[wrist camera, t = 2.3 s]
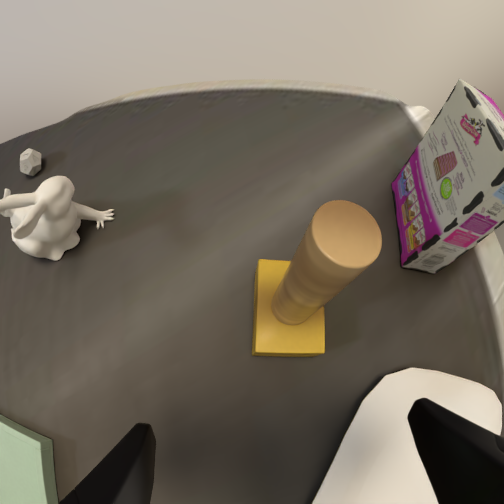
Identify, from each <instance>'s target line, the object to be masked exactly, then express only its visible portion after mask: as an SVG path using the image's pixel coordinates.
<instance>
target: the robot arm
mask: <svg viewBox="0 0 504 504" xmlns="http://www.w3.org/2000/svg"><path fill="white" fill-rule="evenodd" d="M407 419H408V423H409V426H410V429H411V432H412V435H413V439H414V442H415V445H416V448H417V451H418V454H419V456H420V459H421V461H422V463H423V466H424V468H425V471H426V473H427V476H428V478H429V481H430V483H431V486H432V488H433V491H434V493H435V496H436V498H437V501H438V504H504V438H503V437H501V436H499V435H497V434H494V433H493V432H491V431H489V430H487V429H485V428H483V427H481V426H479V425H477V424H475V423H473V422H471V421H469V420H467V419H465V418H463V417H461V416H460V415H458V414H456V413H454V412H452V411H450V410H448V409H446V408H444V407H442V406H441V405H439V404H437V403H435V402H433V401H431V400H429V399H428V398H420V399H417V400H415V402H414V403H413V405H412V407H411V409H410V411H409V413H408V417H407ZM155 450H156V439H155V436H154V433H153V430H152V427H151V425H150V424H146V423H137V424H136V425H135V426H134V427H133V428H132V429H131V430H130V431H129V432H128V433H127V434H126V435H125V436H124V438H123V439H122V440H121V441H120V442H119V443H118V444H117V445H116V446H115V447H114V448H113V449H112V450H111V451H110V452H109V453H108V454H107V455H106V457H105V458H104V459H103V460H102V461H101V462H100V463H99V464H98V465H97V466H96V467H95V468H94V469H93V470H92V471H91V472H90V473H89V474H88V475H87V476H86V477H85V478H84V479H83V480H82V481H81V482H80V483H79V484H78V485H77V486H76V487H75V490H74V489H73V490H72V491H71V492H70V493H69V494H68V495H67V496H66V497H65V498H64V499H63V500H62V501H61V502H59V503H58V504H150V500H151V494H152V489H153V483H154V466H155Z"/></svg>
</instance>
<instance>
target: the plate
mask: <svg viewBox="0 0 504 504" xmlns="http://www.w3.org/2000/svg"><path fill="white" fill-rule="evenodd" d="M420 398H428V399H429V400H431V401H433V402H435V403H437V404H439V405H441V406H442V407H444V408H446V409H448V410H450V411H452V412H454V413H456V414H458V415H460V416H461V417H463V418H465V419H467V420H469V421H471V422H473V423H475V424H477V425H479V426H481V427H483V428H485V429H487V430H489V431H491V432H493V433H494V434H497V435H499V436H500V433H501V428H502V405H501V403H500V401H499V399H498V398H497V396H496V394H495V393H494V391H493V390H491V389H489V388H487V387H485V386H483V385H481V384H480V383H477V382H474V381H470V380H467V379H464V378H461V377H457V376H454V375H450V374H447V373H443V372H440V371H434V370H427V369H419V368H408V369H405V370H402V371H399V372H395V373H392V374H389V375H385V376H384V377H383V378H382V379H381V380H380V381H379V383H378V384H377V385H376V386H375V387H374V388H373V389H372V390H371V391H370V392H369V393H368V395H367V396H366V397H365V398H364V399H363V400H362V402H361V404H360V406H359V408H358V410H357V412H356V414H355V416H354V418H353V420H352V421H351V423H350V425H349V427H348V429H347V431H346V433H345V435H344V437H343V439H342V441H341V443H340V446H339V448H338V450H337V452H336V454H335V457H334V459H333V461H332V463H331V465H330V467H329V469H328V471H327V473H326V475H325V477H324V479H323V482H322V484H321V486H320V488H319V490H318V492H317V493H316V495H315V497H314V499H313V501H312V503H311V504H438V501H437V498H436V496H435V493H434V491H433V488H432V486H431V483H430V481H429V478H428V476H427V473H426V471H425V468H424V466H423V463H422V461H421V459H420V456H419V454H418V451H417V448H416V445H415V442H414V439H413V435H412V432H411V429H410V426H409V423H408V419H407V417H408V413H409V411H410V409H411V407H412V405H413V403H414V402H415V400H417V399H420Z"/></svg>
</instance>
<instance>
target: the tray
mask: <svg viewBox="0 0 504 504" xmlns="http://www.w3.org/2000/svg"><path fill="white" fill-rule="evenodd" d="M0 504H58V497H57V490H56V482H55V473H54V461H53V443H52V440H51V439H49V438H47V437H44V436H42V435H40V434H38V433H36V432H33V431H31V430H29V429H27V428H25V427H23V426H21V425H19V424H17V423H15V422H14V421H12V420H10V419H8V418H6V417H4V416H3V415H1V414H0Z"/></svg>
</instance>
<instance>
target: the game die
mask: <svg viewBox="0 0 504 504" xmlns="http://www.w3.org/2000/svg"><path fill="white" fill-rule="evenodd" d="M40 170H41V153H39V152H37V151H35V150H32V149H30V148H28V149H27V150H26V151H24V152H23V153H22V154H21V156H20V171H21V172H23V173H25V174H28V175H32V176H34V175H35V174H36V173H37V172H38V171H40Z"/></svg>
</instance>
